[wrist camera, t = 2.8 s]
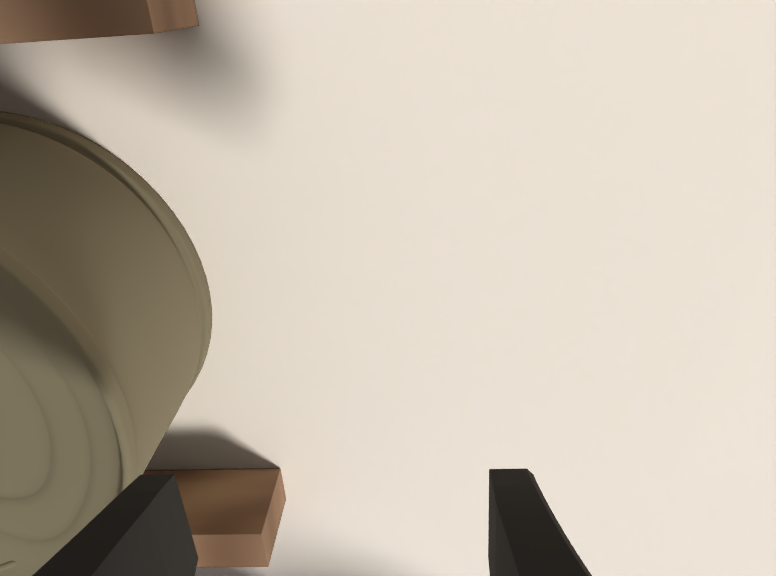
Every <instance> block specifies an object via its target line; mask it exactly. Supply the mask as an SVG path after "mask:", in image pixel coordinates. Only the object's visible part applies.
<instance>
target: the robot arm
mask: <svg viewBox="0 0 776 576" xmlns="http://www.w3.org/2000/svg"><path fill="white" fill-rule="evenodd" d="M488 558H489V569H490V576H592V575H591V574H590V572H589V571H588V569H587V568H586V566H585V565H584V563H583V562H582V560H581V559H580V557H579V556H578V554H577V553H576V551H575V549H574V548H573V546H572V545H571V543H570V541H569V540H568V538H567V537H566V535H565V533H564V531H563V530H562V528H561V526H560V525H559V523H558V521H557V520H556V518H555V516H554V514H553V513H552V511H551V509H550V507H549V505H548V503H547V502H546V500H545V498H544V496H543V494H542V492H541V490H540V488H539V486H538V484H537V482H536V480H535V477H534V475H533V474H532V473H531V472H530V471H529V470H528V469H489V547H488ZM198 559H199V558H198V555H197V551H196V548H195V544H194V541H193V537H192V534H191V530H190V526H189V523H188V519H187V516H186V512H185V509H184V505H183V502H182V498H181V495H180V491H179V488H178V484H177V481H176V477H175V474H149V475H140V476H138V477H137V478H136V479H135V480H134V481H133V482H132V483H131V484H130V485H128V486H127V487H126V488H125V489H124V490H123V491H122V492H121V493H120V494H119V495H118V496H117V497H116V498H115V499H113V500H112V501H111V502H110V503H109V504H108V505H107V506H106V507H105V508H104V509H103V510H102V511H101V512H100V513H99V514H98V515H97V516H96V517H95V518H94V519H92V520H91V521H90V522H89V523H88V524H87V525H86V526H85V527H84V528H83V529H82V530H81V531H80V532H79V533H78V534H77V535H76V536H74V537H73V538H72V539H71V540H70V541H69V542H68V543H67V544H66V545H65V546H64V547H63V548H62V549H60V550H59V551H58V552H57V553H56V554H55V555H54V556H53V557H52V558H51V559H50V560H49V561H47V562H46V563H45V564H44V565H43V566H42V567H41V568H40V569H39V570H38V571H37V572H36V573H34V574H33V575H32V576H194V575H195V571H196V567H197V563H198Z"/></svg>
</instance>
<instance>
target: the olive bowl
mask: <svg viewBox="0 0 776 576" xmlns="http://www.w3.org/2000/svg"><path fill="white" fill-rule="evenodd" d="M211 329H212V306H211V298H210V292H209V287H208V283H207V278H206V275H205V272H204V269H203V266H202V263H201V260H200V258H199V256H198V254H197V251H196V249H195V247H194V245H193V243H192V241H191V239H190V237H189V236H188V234H187V232H186V230H185V229H184V227H183V226H182V224H181V223H180V221H179V220H178V218H177V217H176V215H175V214H174V212H173V211H172V210H171V209H170V207H169V206H168V205H167V204H166V202H165V201H164V200H163V199H162V198H161V196H160V195H159V194H158V193H157V192H156V191H155V190H154V189H153V188H152V187H151V186H150V185H149V184H148V183H147V182H146V181H145V180H144V179H143V178H142V177H141V176H140V175H138V174H137V173H136V172H135V171H134V170H133V169H132V168H130V167H129V166H128V165H126V164H125V163H124V162H122V161H121V160H120V159H118V158H117V157H116V156H114V155H113V154H111V153H110V152H108V151H107V150H105V149H104V148H102V147H100V146H99V145H97V144H96V143H94V142H92V141H90V140H88V139H86V138H84V137H82V136H80V135H78V134H77V133H74V132H72V131H70V130H67V129H65V128H62V127H60V126H58V125H55V124H52V123H49V122H46V121H43V120H39V119H36V118H32V117H28V116H23V115H19V114H13V113H6V112H0V576H32V575H33V574H34V573H36V572H37V571H38V570H39V569H40V568H41V567H42V566H43V565H44V564H45V563H46V562H47V561H49V560H50V559H51V558H52V557H53V556H54V555H55V554H56V553H57V552H58V551H59V550H60V549H62V548H63V547H64V546H65V545H66V544H67V543H68V542H69V541H70V540H71V539H72V538H73V537H74V536H76V535H77V534H78V533H79V532H80V531H81V530H82V529H83V528H84V527H85V526H86V525H87V524H88V523H89V522H90V521H91V520H92V519H94V518H95V517H96V516H97V515H98V514H99V513H100V512H101V511H102V510H103V509H104V508H105V507H106V506H107V505H108V504H109V503H110V502H111V501H112V500H113V499H115V498H116V497H117V496H118V495H119V494H120V493H121V492H122V491H123V490H124V489H125V488H126V487H127V486H128V485H130V484H131V483H132V482H133V481H134V480H135V479H136V478H137V477H138V476H140V475H143V473H144V471H145V469H146V467H147V465H148V464H149V462H150V460H151V458H152V456H153V455H154V453H155V451H156V449H157V447H158V445H159V444H160V442H161V440H162V438H163V437H164V435H165V433H166V431H167V429H168V428H169V426H170V424H171V422H172V420H173V419H174V417H175V415H176V413H177V411H178V409H179V407H180V406H181V404H182V402H183V400H184V398H185V396H186V394H187V393H188V392H189V390H190V389H191V387H192V386H193V384H194V382H195V380H196V378H197V377H198V375H199V373H200V371H201V369H202V367H203V364H204V361H205V358H206V355H207V352H208V347H209V343H210V338H211Z"/></svg>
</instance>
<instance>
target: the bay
mask: <svg viewBox="0 0 776 576" xmlns="http://www.w3.org/2000/svg"><path fill="white" fill-rule="evenodd" d="M194 26H199V23H198V18H197V12H196V7H195V1H194V0H0V44H7V43H22V42H37V41H51V40H66V39H81V38H95V37H110V36H125V35H139V34H154V33H160V32H165V31H171V30H177V29H182V28H188V27H194ZM149 474H175V477H176V481H177V484H178V488H179V491H180V495H181V498H182V502H183V505H184V509H185V512H186V516H187V519H188V523H189V526H190V530H191V534H192V537H193V541H194V544H195V548H196V551H197V555H198V558H199V559H198V563H197V567H268V566H269V562H270V558H271V554H272V550H273V547H274V543H275V539H276V535H277V531H278V528H279V524H280V520H281V516H282V512H283V509H284V505H285V501H286V497H285V491H284V486H283V481H282V475H281V470H280V469H235V470H172V471H144V473H143V475H149Z"/></svg>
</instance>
